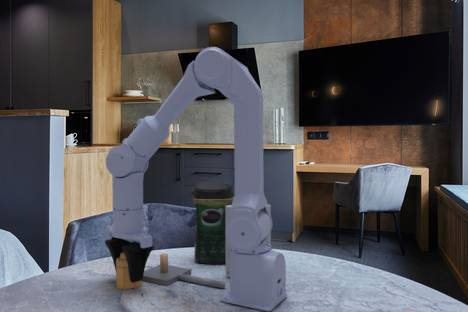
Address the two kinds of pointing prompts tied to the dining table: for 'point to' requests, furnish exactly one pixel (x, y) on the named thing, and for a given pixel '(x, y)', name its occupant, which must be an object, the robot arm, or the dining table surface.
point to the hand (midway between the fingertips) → (129, 277)
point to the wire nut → (124, 274)
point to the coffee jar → (211, 220)
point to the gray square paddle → (175, 275)
